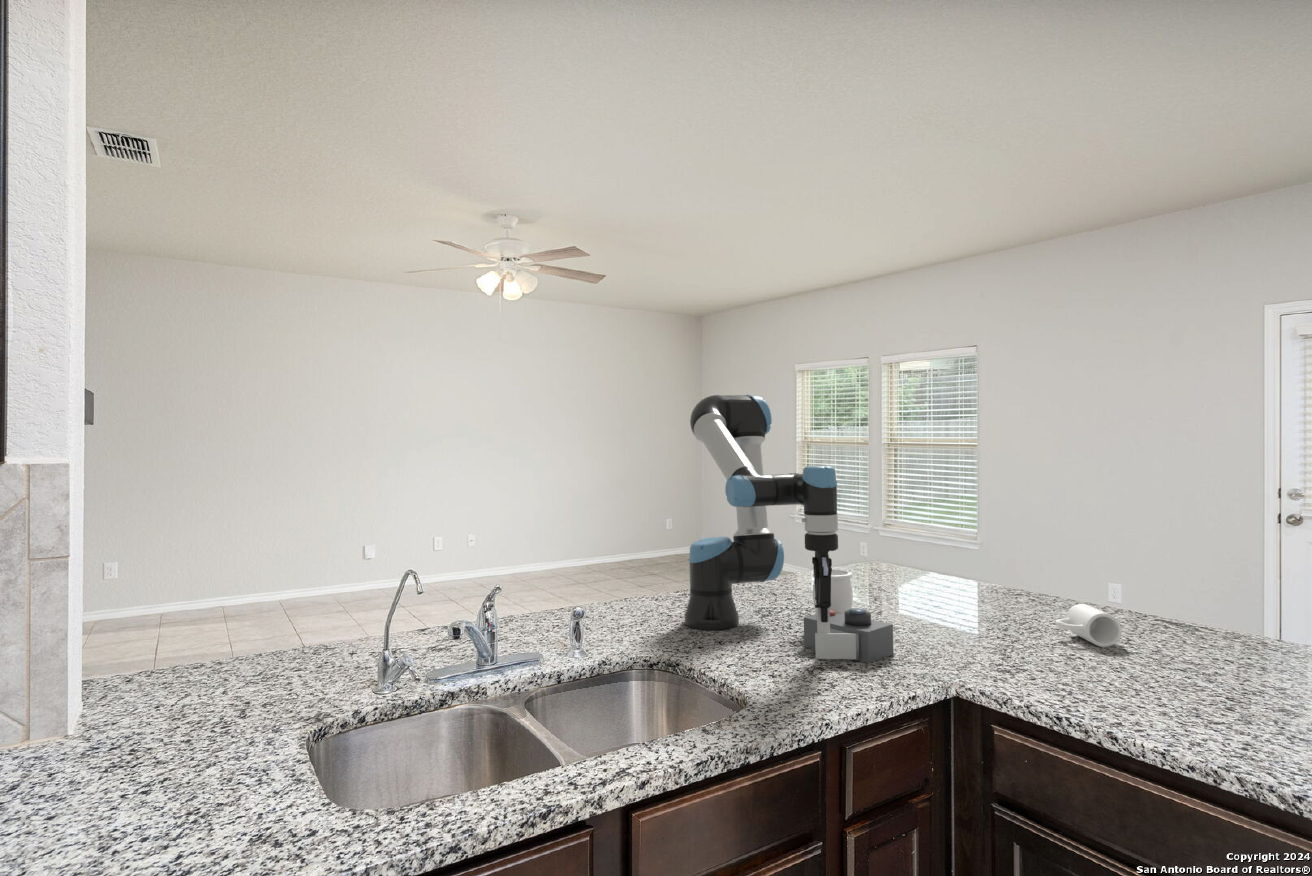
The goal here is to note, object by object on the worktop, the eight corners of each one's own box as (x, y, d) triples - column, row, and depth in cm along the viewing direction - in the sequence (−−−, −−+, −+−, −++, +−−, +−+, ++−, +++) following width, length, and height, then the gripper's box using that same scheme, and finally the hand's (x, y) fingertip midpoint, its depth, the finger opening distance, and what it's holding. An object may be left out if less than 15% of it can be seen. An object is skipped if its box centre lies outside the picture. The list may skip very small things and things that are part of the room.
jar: (858, 633, 174) (857, 575, 174) (818, 634, 174) (816, 576, 174) (847, 623, 184) (846, 568, 185) (809, 623, 185) (808, 568, 185)
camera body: (803, 646, 164) (802, 605, 164) (829, 638, 170) (828, 598, 170) (868, 663, 150) (867, 618, 150) (893, 654, 156) (892, 611, 156)
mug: (1099, 635, 168) (1098, 603, 169) (1122, 647, 158) (1121, 613, 159) (1048, 635, 170) (1047, 603, 170) (1069, 646, 160) (1068, 613, 160)
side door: (816, 658, 152) (815, 633, 152) (815, 657, 153) (815, 632, 153) (859, 659, 151) (859, 634, 151) (859, 658, 152) (858, 633, 152)
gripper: (801, 529, 162) (804, 627, 162) (807, 536, 150) (810, 642, 149) (833, 529, 162) (835, 627, 161) (842, 535, 149) (845, 643, 148)
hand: (823, 634), depth 155 cm, fingers closed
